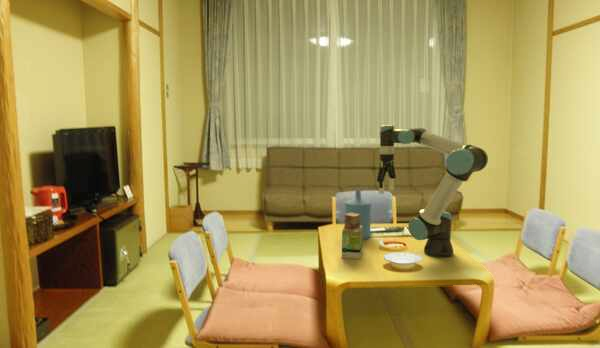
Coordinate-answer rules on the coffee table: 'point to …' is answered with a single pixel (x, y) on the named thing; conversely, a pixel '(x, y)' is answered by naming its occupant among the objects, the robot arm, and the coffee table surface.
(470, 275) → the coffee table surface
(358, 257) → the tea box
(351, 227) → the walnut block
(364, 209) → the water jug
